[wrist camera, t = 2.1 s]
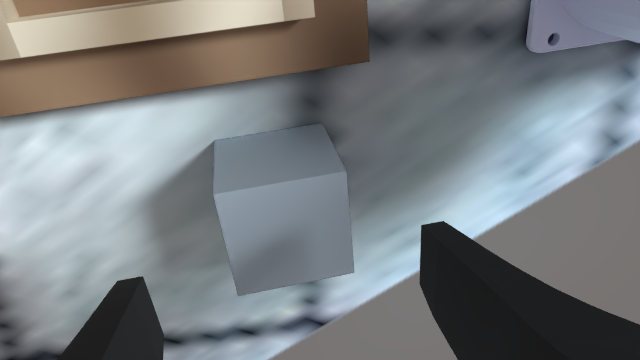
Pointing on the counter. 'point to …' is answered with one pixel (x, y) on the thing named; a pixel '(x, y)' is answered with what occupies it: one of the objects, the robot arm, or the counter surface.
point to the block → (283, 208)
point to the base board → (165, 46)
